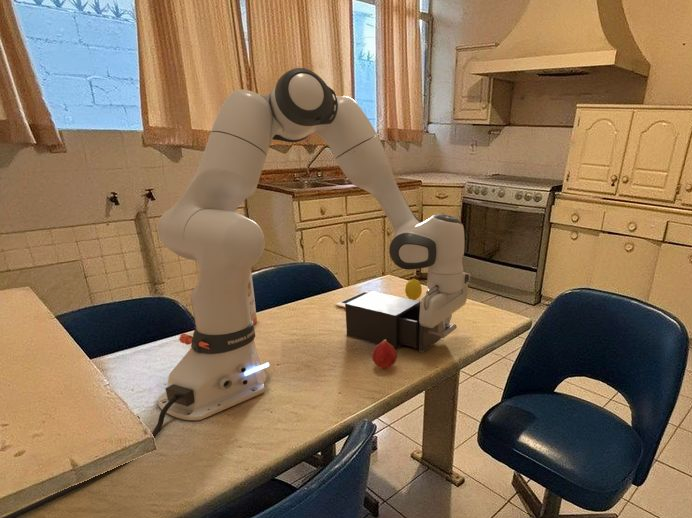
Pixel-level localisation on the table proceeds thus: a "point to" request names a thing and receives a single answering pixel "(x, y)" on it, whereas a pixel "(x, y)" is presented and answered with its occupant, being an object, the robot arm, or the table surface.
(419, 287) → the lemon
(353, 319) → the cabinet
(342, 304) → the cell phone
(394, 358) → the onion
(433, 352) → the table surface
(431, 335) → the drawer
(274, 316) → the table surface
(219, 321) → the robot arm
